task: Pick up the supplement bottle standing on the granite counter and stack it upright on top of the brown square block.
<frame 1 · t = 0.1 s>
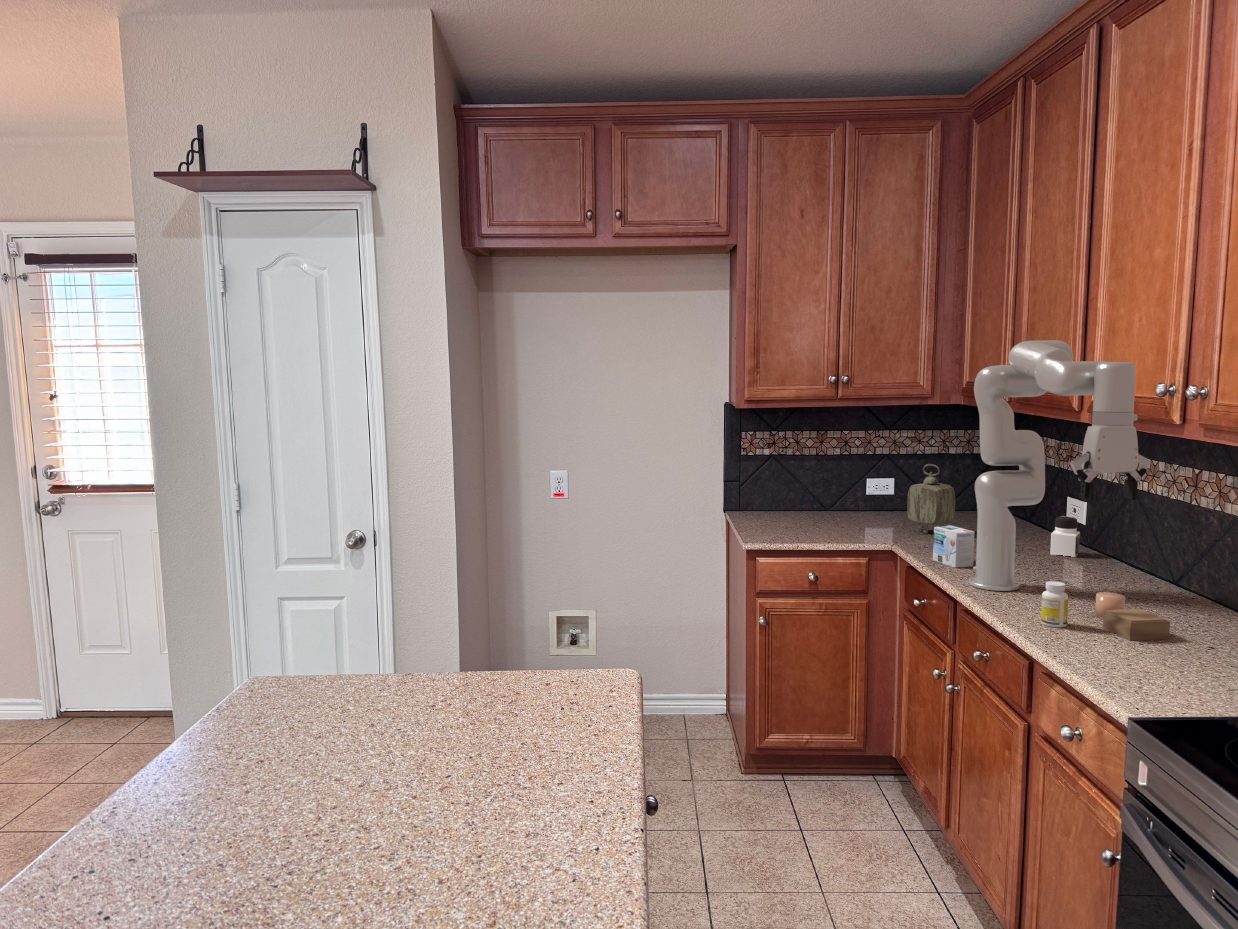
hand: (1108, 499, 177), 31 cm above the countertop, tool pointing down, fingers open, 9 cm apart
supplement bottle: (1053, 625, 191), on the countertop
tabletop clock: (928, 533, 296), on the countertop
medicine bottle: (1064, 554, 260), on the countertop
brown square block: (1135, 633, 184), on the countertop
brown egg: (1109, 615, 197), on the countertop
light bulb box: (952, 564, 251), on the countertop
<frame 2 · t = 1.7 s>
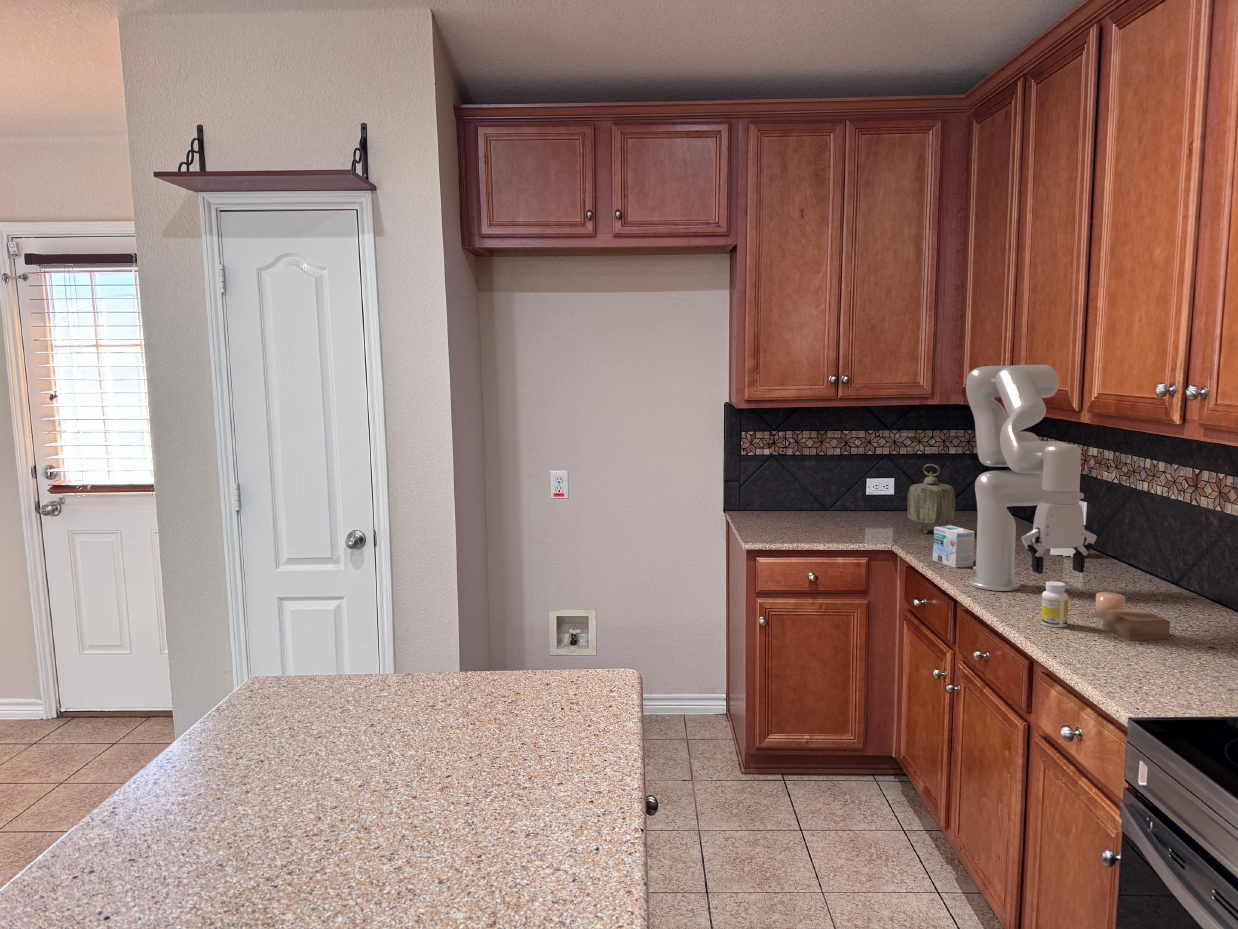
hand: (1057, 572, 189), 13 cm above the countertop, tool pointing down, fingers open, 9 cm apart
nothing on the countertop moved.
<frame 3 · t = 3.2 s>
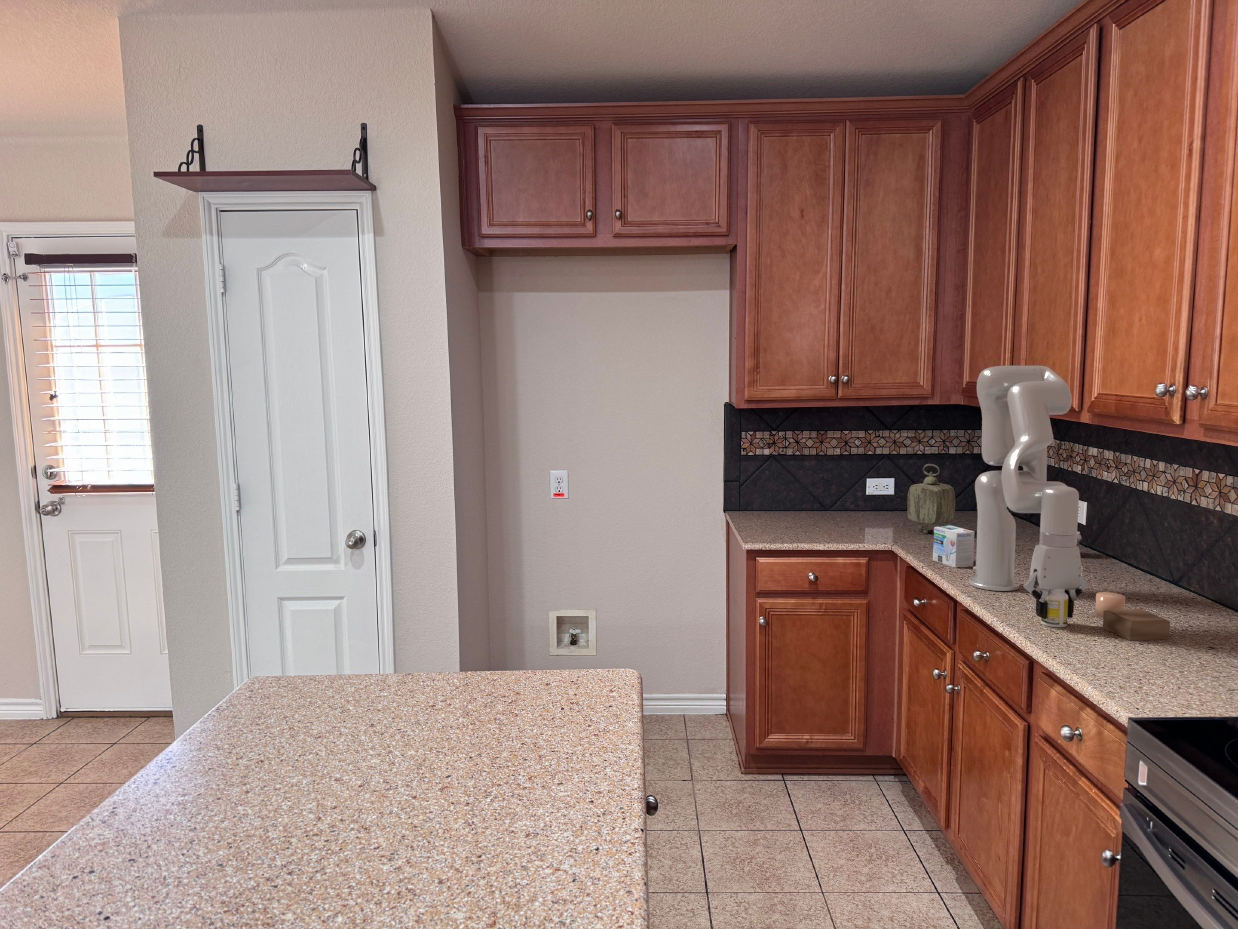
hand: (1054, 616, 191), 2 cm above the countertop, tool pointing down, fingers closed on supplement bottle, 5 cm apart
supplement bottle: (1053, 625, 191), on the countertop, touching gripper
everything else where it was.
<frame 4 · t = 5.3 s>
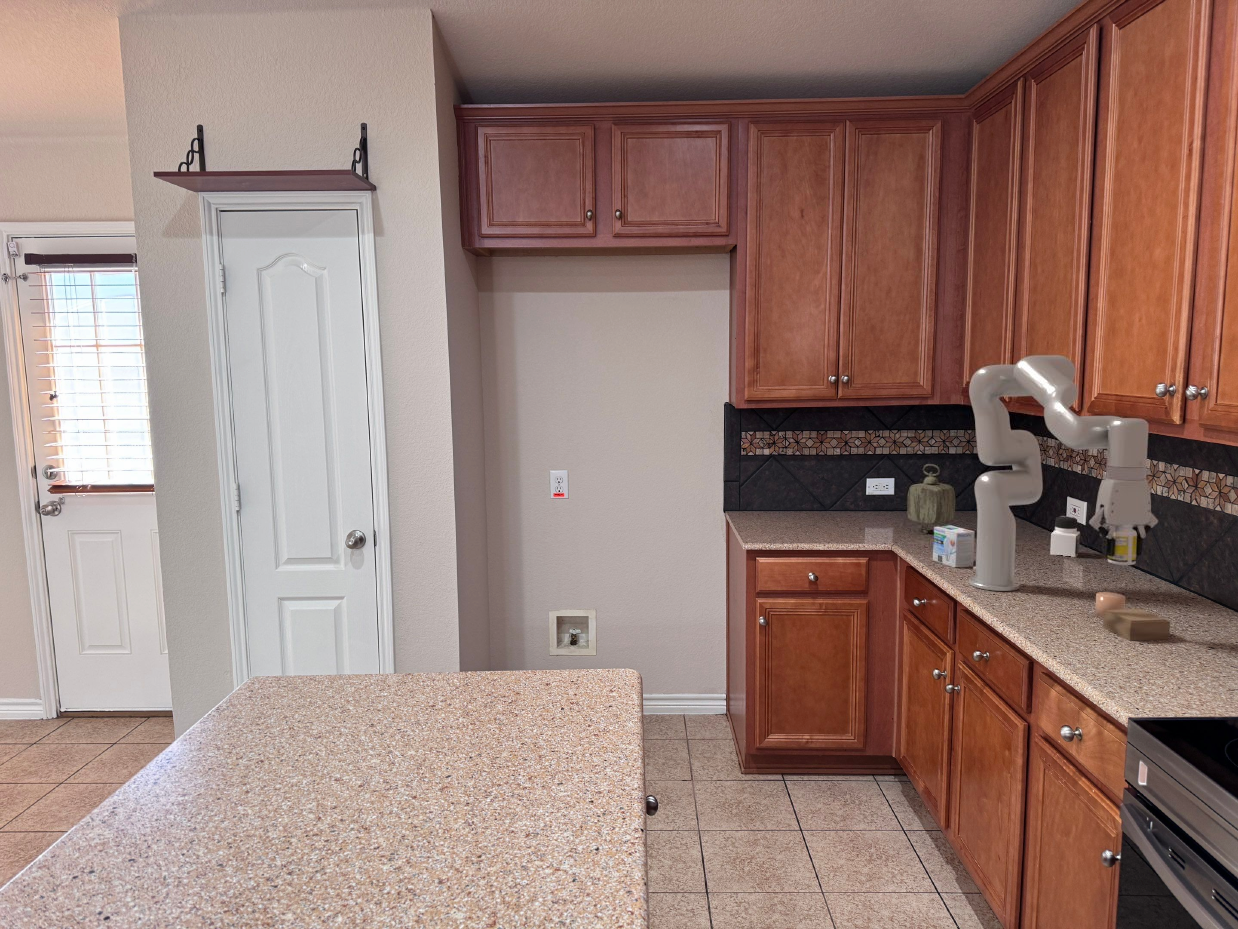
hand: (1121, 554, 183), 18 cm above the countertop, tool pointing down, fingers closed on supplement bottle, 5 cm apart
supplement bottle: (1121, 563, 183), point 16 cm above the countertop, touching gripper
everything else where it was.
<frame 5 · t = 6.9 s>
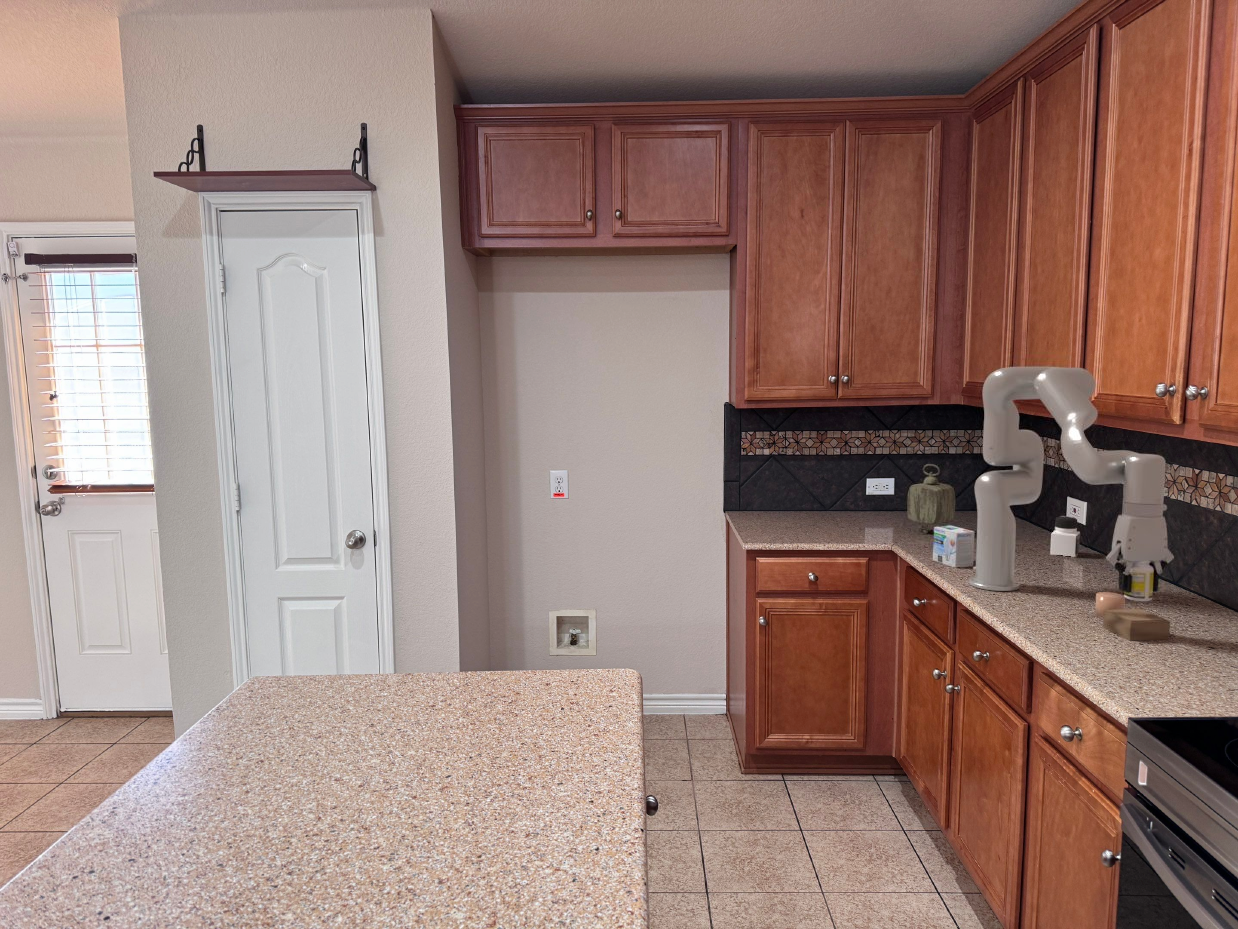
hand: (1138, 589, 183), 10 cm above the countertop, tool pointing down, fingers closed on supplement bottle, 5 cm apart
supplement bottle: (1137, 599, 183), point 8 cm above the countertop, touching gripper
everything else where it was.
when the fingers open (7 cm above the countertop, at t = 7.8 s): supplement bottle drops 1 cm, resting on brown square block.
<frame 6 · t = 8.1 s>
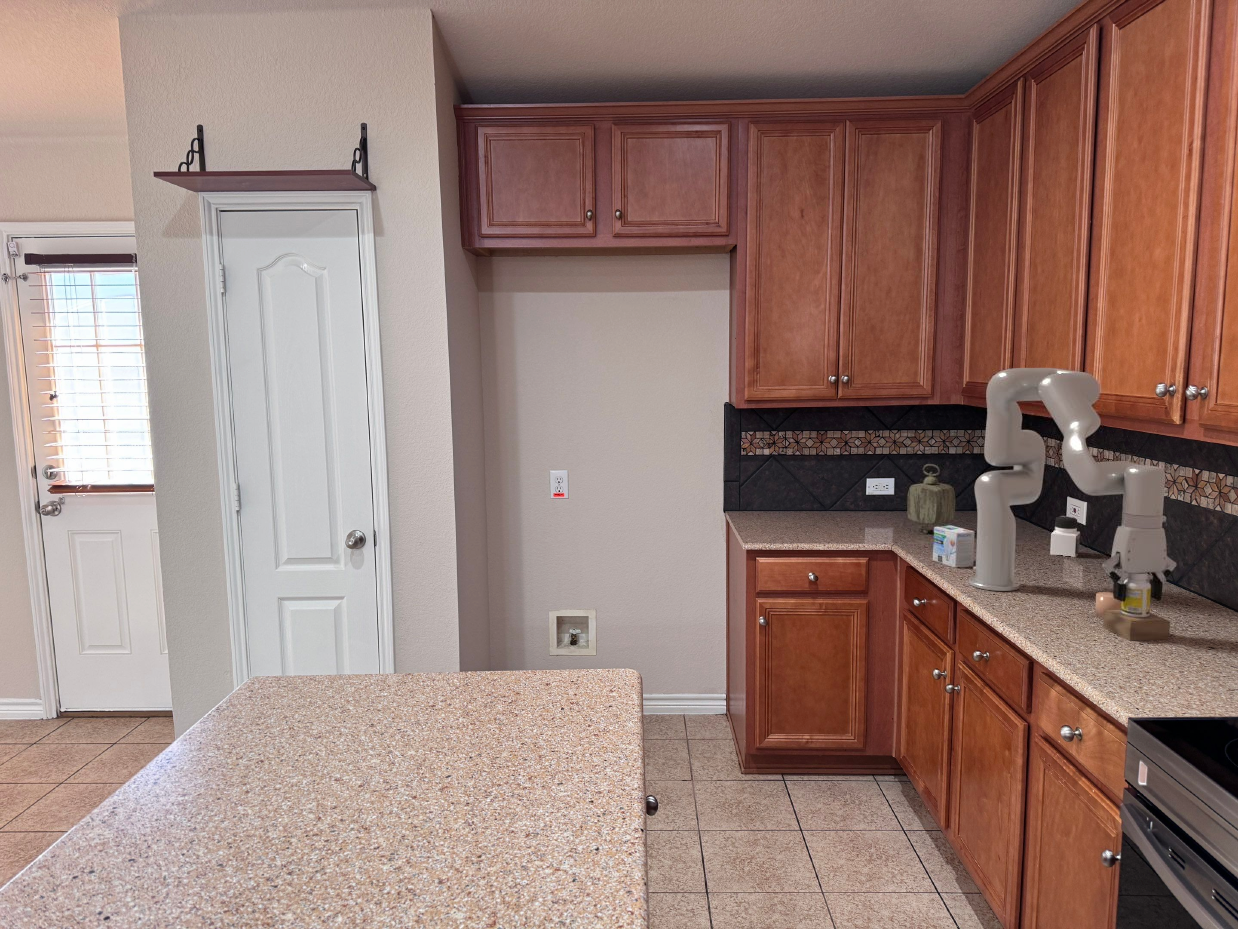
hand: (1137, 598, 183), 8 cm above the countertop, tool pointing down, fingers open, 7 cm apart
supplement bottle: (1134, 615, 184), point 4 cm above the countertop, touching brown square block
everything else where it was.
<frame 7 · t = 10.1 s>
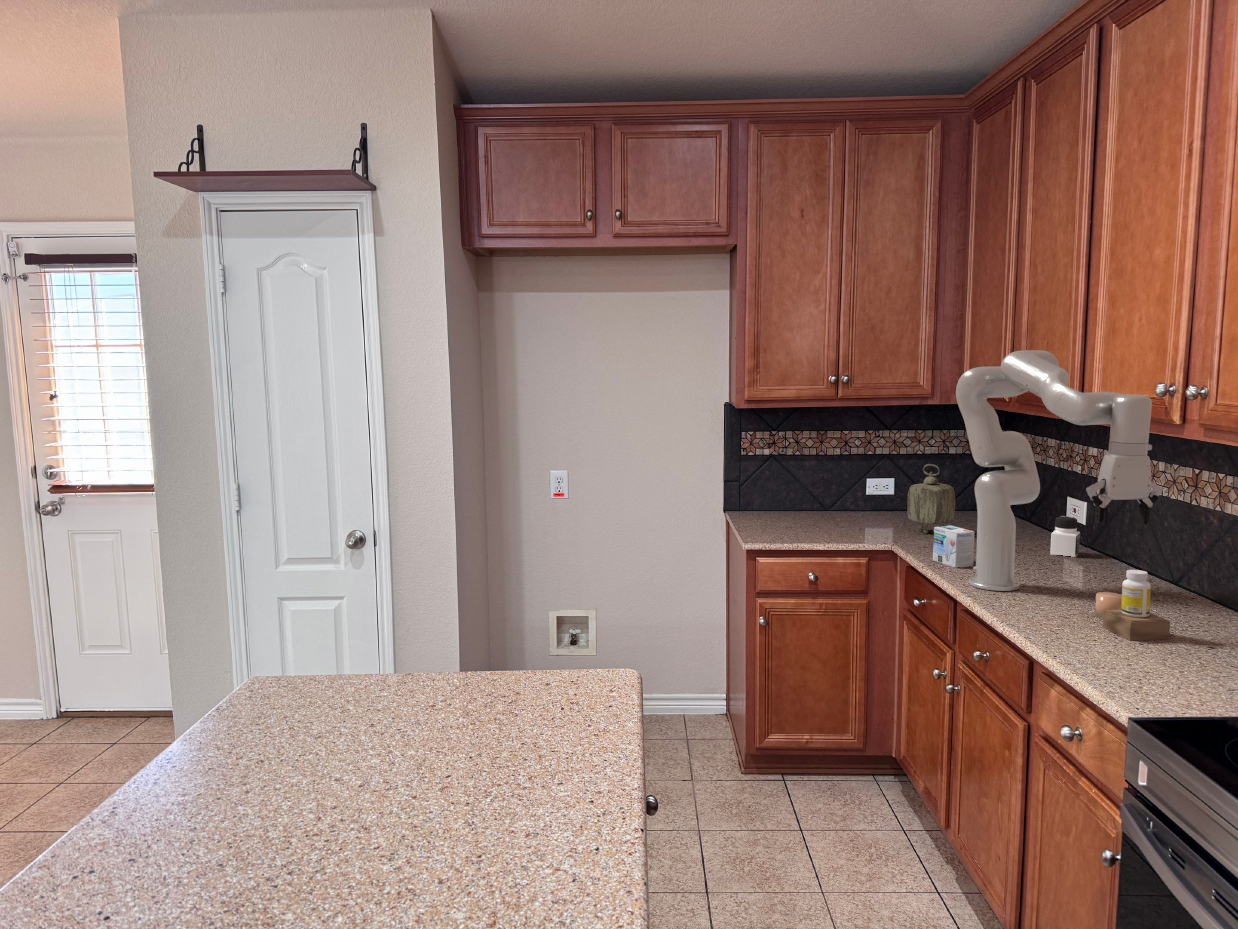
hand: (1121, 523, 189), 24 cm above the countertop, tool pointing down, fingers open, 9 cm apart
nothing on the countertop moved.
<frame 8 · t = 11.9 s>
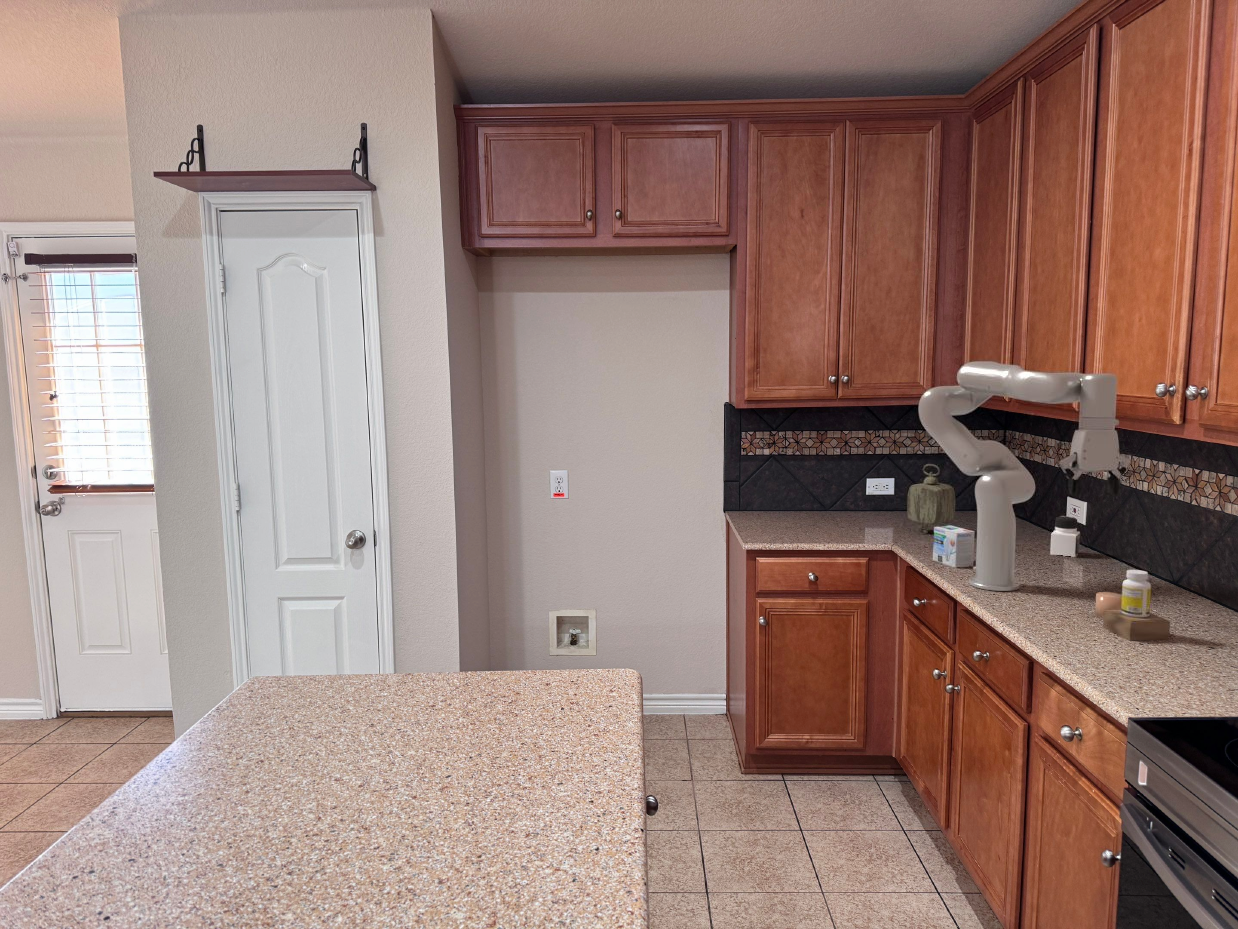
hand: (1093, 494, 201), 28 cm above the countertop, tool pointing down, fingers open, 9 cm apart
nothing on the countertop moved.
at the end: supplement bottle inside the target area on the brown square block (0.2 cm from its centre), point 4.1 cm above the brown square block's base; supplement bottle tilted 0°; the gripper is holding nothing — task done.
